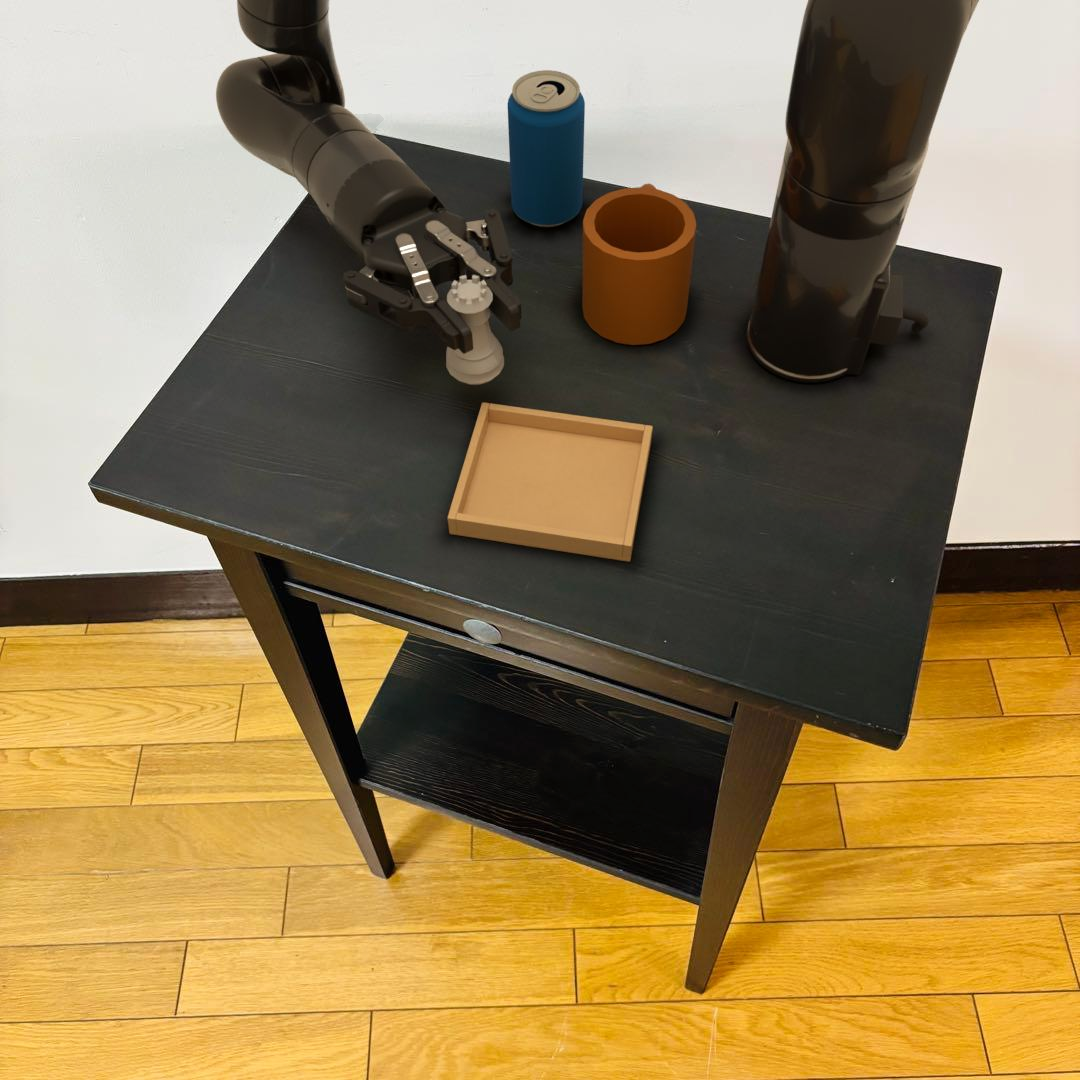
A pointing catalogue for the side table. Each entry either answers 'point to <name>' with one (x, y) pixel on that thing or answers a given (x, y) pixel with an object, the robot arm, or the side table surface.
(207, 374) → the side table surface
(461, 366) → the rook chess piece
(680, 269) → the mug
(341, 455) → the side table surface
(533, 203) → the beverage can
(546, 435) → the tray
